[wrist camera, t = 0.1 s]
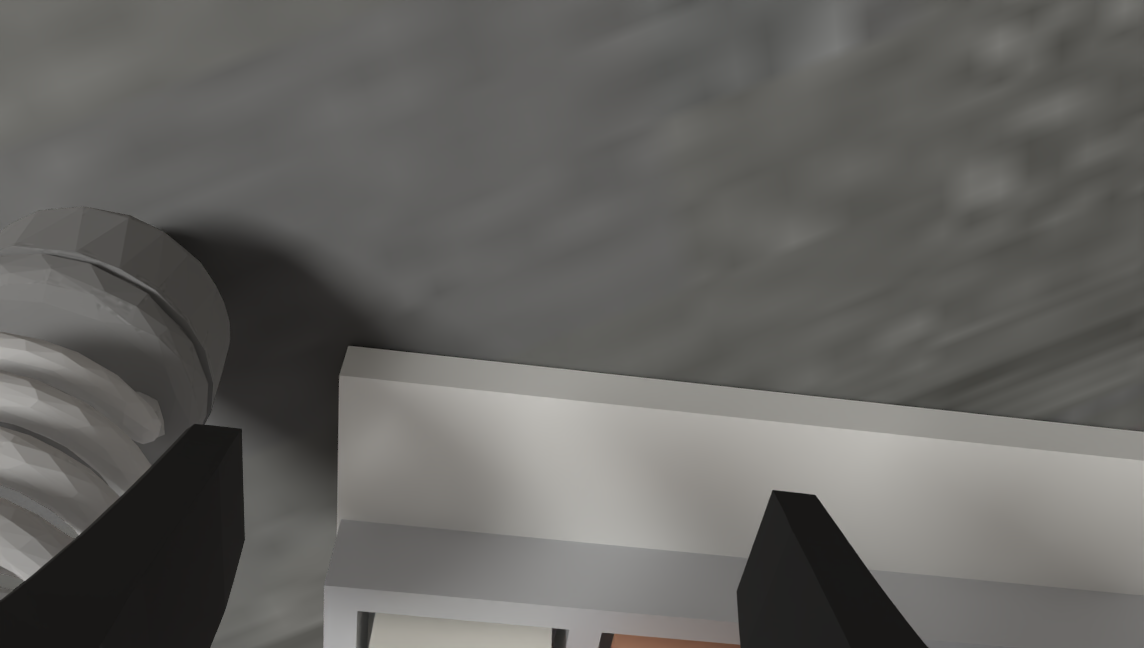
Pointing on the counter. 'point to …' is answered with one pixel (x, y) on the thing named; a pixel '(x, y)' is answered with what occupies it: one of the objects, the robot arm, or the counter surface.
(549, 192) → the counter surface
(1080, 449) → the keypad
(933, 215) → the counter surface
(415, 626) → the key ivory
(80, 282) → the light bulb
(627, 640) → the key terracotta
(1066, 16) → the counter surface
